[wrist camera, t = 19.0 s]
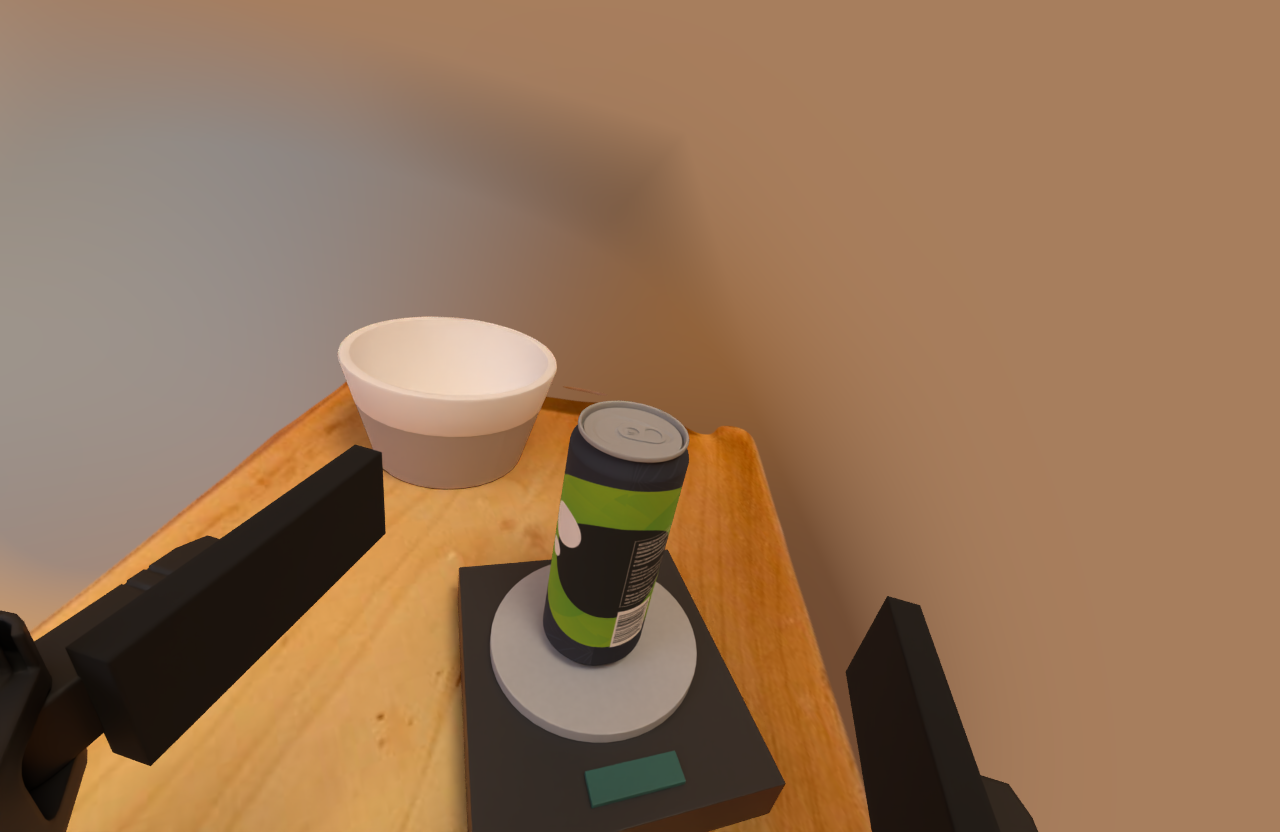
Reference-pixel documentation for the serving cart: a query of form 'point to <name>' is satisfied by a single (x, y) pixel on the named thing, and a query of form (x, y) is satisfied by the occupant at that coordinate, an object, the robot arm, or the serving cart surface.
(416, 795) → the serving cart surface
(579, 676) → the scale
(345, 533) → the robot arm
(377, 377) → the bowl
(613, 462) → the beverage can
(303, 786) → the serving cart surface
